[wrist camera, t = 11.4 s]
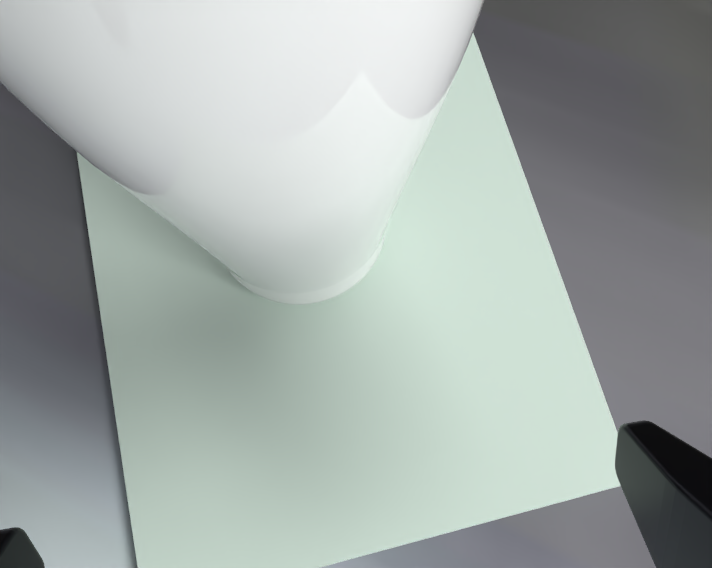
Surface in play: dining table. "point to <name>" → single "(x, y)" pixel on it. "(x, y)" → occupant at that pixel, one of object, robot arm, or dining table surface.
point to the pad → (351, 372)
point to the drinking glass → (248, 117)
